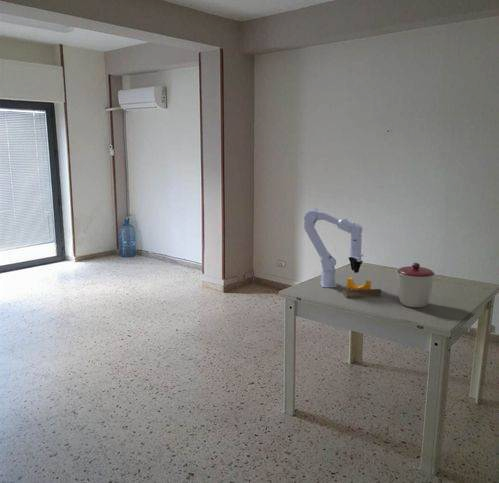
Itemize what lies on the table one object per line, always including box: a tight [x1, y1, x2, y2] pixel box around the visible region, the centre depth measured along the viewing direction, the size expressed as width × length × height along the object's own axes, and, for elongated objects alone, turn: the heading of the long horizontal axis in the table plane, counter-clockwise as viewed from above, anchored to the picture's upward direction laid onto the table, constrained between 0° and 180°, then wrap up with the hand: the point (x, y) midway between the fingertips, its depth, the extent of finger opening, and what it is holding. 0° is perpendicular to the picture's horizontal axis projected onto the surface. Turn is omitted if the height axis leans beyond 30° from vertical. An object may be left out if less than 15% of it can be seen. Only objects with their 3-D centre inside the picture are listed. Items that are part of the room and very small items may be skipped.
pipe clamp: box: [345, 277, 372, 291], centre depth 259 cm, size 12×4×6 cm, turn 61°
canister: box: [395, 262, 436, 309], centre depth 235 cm, size 18×18×21 cm
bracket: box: [342, 288, 382, 299], centre depth 252 cm, size 6×18×4 cm, turn 94°
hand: (354, 271), depth 263 cm, fingers open, 4 cm apart
